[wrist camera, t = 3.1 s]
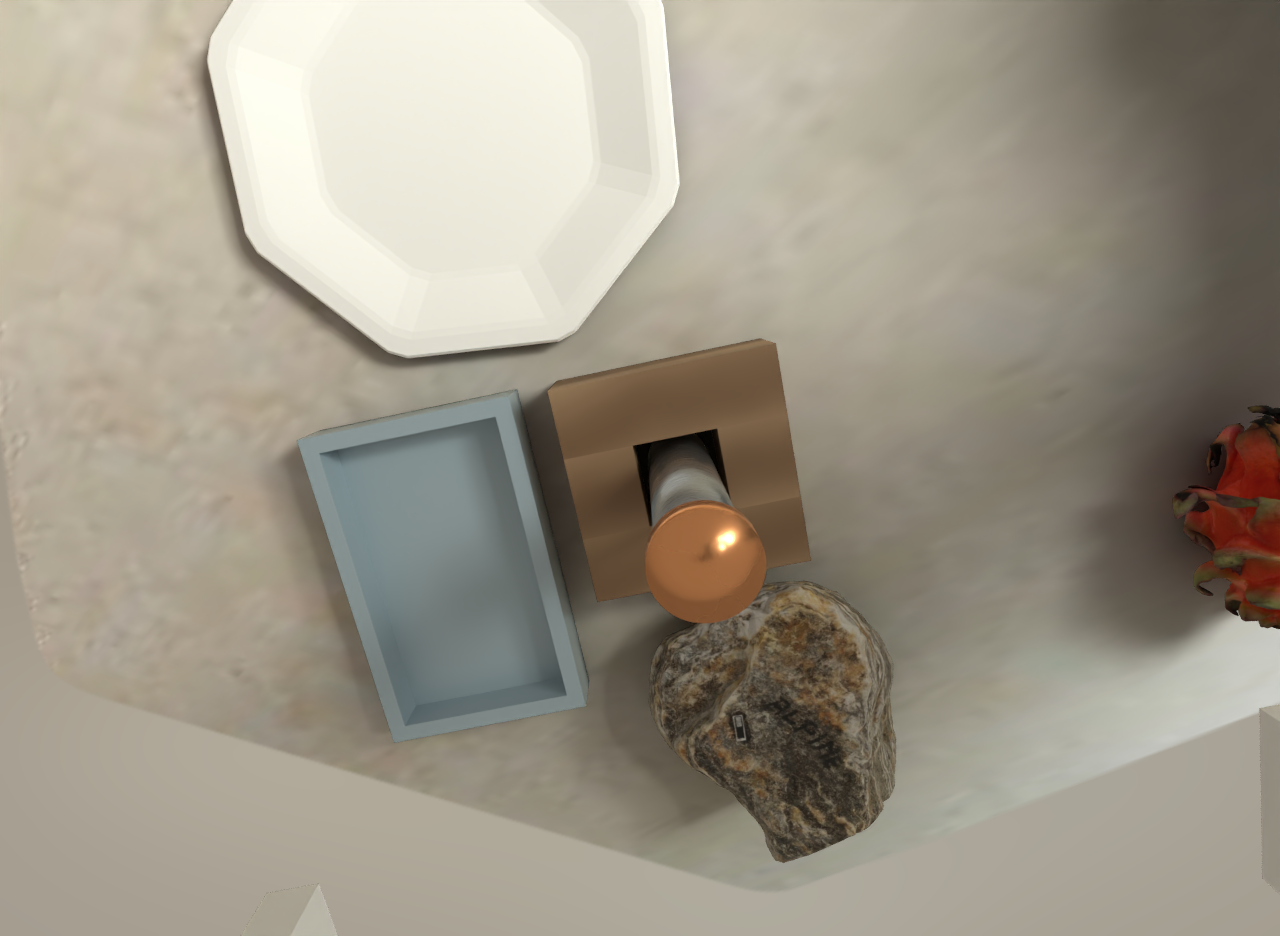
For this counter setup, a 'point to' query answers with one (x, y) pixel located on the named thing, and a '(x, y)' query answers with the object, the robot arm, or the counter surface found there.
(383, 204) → the plate
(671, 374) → the block
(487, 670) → the tray
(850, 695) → the stone
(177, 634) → the counter surface
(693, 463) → the lock pin
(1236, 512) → the dragon fruit
